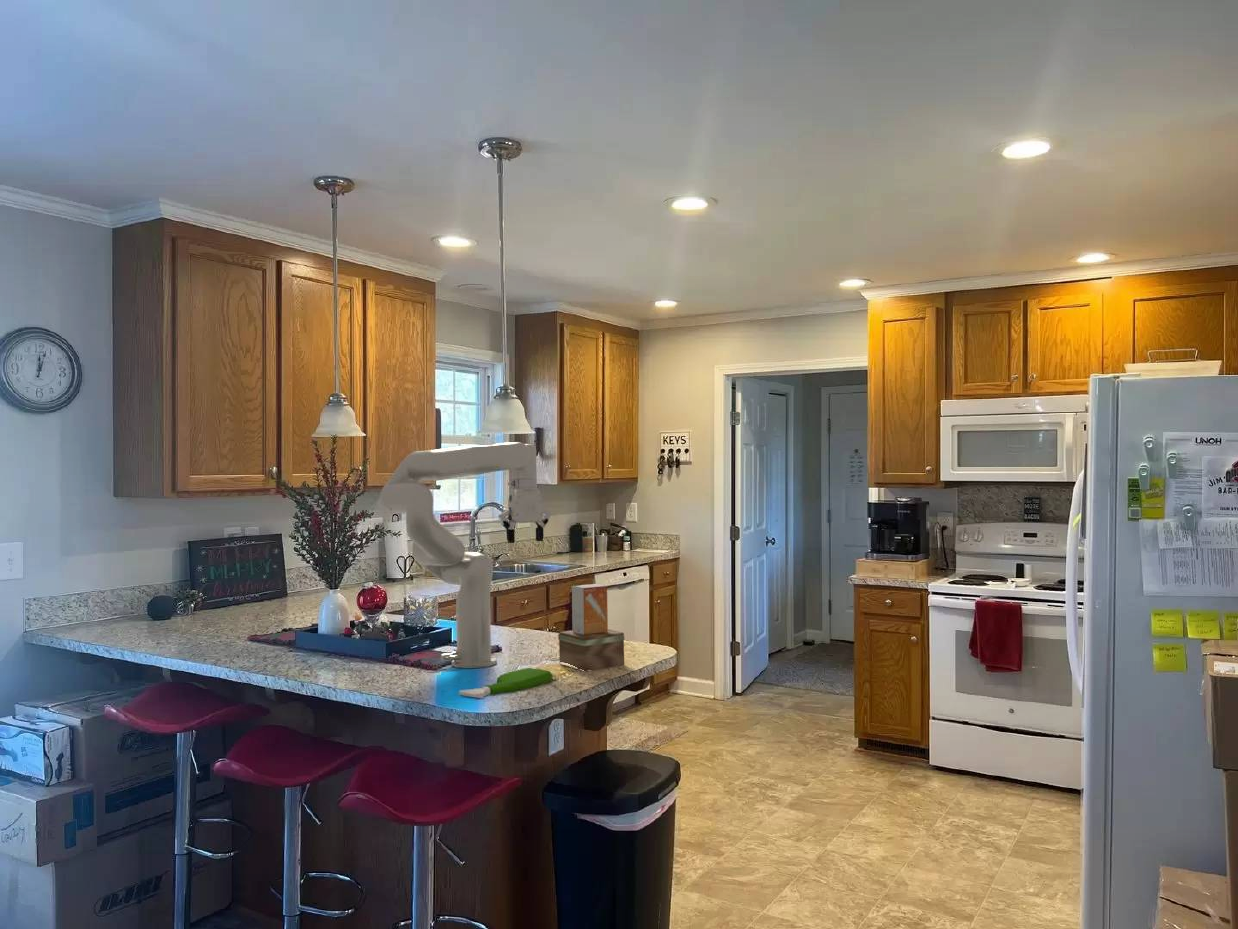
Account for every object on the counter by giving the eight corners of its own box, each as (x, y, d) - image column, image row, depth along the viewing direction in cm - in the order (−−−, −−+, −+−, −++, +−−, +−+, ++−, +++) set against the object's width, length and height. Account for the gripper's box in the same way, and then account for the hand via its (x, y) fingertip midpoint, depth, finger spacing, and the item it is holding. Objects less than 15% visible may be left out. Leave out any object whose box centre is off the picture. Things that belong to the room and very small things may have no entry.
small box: (583, 635, 247) (583, 587, 247) (571, 632, 252) (571, 585, 253) (608, 632, 252) (607, 585, 252) (596, 629, 257) (595, 583, 257)
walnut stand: (584, 672, 242) (584, 638, 242) (558, 664, 253) (558, 632, 253) (625, 665, 250) (624, 632, 250) (598, 658, 261) (597, 626, 261)
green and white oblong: (556, 683, 232) (485, 704, 212) (525, 678, 238) (454, 698, 219) (555, 671, 232) (485, 691, 212) (525, 666, 238) (454, 685, 219)
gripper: (504, 485, 264) (505, 544, 264) (555, 484, 274) (556, 540, 274) (492, 485, 270) (493, 543, 270) (542, 484, 280) (544, 539, 280)
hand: (525, 541), depth 272 cm, fingers open, 9 cm apart
